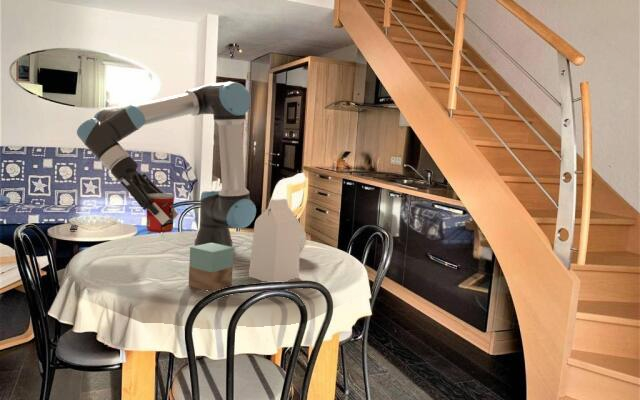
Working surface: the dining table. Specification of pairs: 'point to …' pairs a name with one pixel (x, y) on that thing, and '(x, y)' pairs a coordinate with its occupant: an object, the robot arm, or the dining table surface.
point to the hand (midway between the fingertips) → (171, 219)
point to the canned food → (167, 207)
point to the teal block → (211, 257)
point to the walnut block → (210, 278)
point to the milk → (275, 244)
